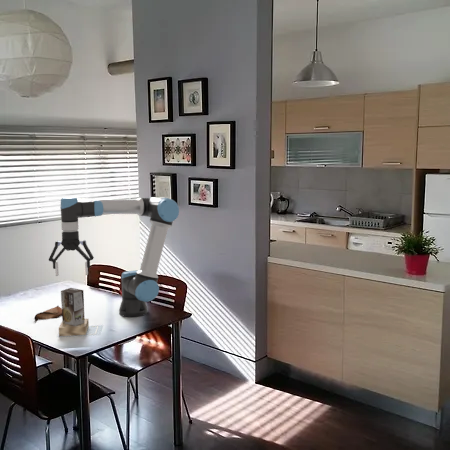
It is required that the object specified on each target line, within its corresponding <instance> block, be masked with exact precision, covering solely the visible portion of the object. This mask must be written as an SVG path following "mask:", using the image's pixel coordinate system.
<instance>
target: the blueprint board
mask: <svg viewBox="0 0 450 450" xmlns="http://www.w3.org/2000/svg"><path fill="white" fill-rule="evenodd" d="M103 327H104V325H103V324H98V325H97V324H95V325H89V327H88V330H87V332H86V335H74V336H73V337H84V336H85V337H89V336H91V337H92V336H101V335H102V331H103ZM65 337H66V338H67V337H69V338H70V337H72V336H59V332H58V333H57V335H56V338H65Z"/></svg>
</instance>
